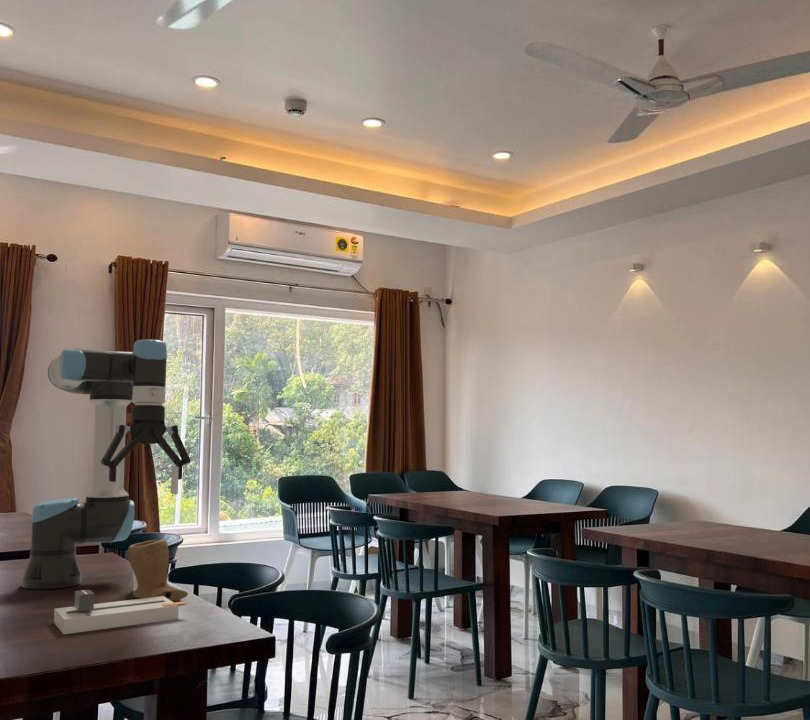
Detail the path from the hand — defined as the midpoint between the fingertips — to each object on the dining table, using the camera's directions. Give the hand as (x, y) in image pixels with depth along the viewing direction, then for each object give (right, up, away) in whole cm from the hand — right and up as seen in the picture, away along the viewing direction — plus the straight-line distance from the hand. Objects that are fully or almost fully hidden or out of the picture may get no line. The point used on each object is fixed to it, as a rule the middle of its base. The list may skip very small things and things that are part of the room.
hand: (145, 495), depth 180 cm
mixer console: (-3, -27, -9) cm, 28 cm away
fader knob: (-9, -23, -13) cm, 28 cm away
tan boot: (-2, -29, +12) cm, 31 cm away
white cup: (-8, -30, +25) cm, 40 cm away
